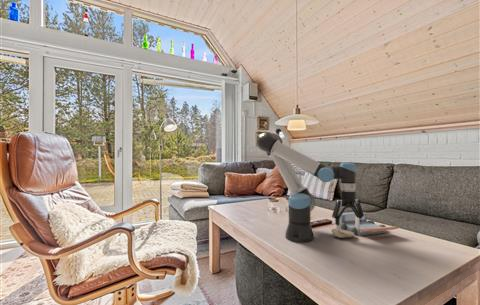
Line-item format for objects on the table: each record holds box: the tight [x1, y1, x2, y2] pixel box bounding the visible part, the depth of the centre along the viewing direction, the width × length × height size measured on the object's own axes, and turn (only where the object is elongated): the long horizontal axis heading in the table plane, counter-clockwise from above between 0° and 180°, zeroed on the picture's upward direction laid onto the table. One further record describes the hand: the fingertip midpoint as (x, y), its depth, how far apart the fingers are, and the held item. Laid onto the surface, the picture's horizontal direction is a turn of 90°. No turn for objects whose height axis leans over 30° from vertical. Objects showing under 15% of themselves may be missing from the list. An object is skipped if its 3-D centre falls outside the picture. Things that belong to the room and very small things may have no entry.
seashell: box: [331, 228, 355, 239], centre depth 127 cm, size 12×12×3 cm
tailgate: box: [360, 226, 399, 232], centre depth 125 cm, size 17×1×8 cm
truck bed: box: [340, 211, 387, 236], centre depth 138 cm, size 22×20×8 cm
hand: (348, 230), depth 128 cm, fingers open, 11 cm apart
